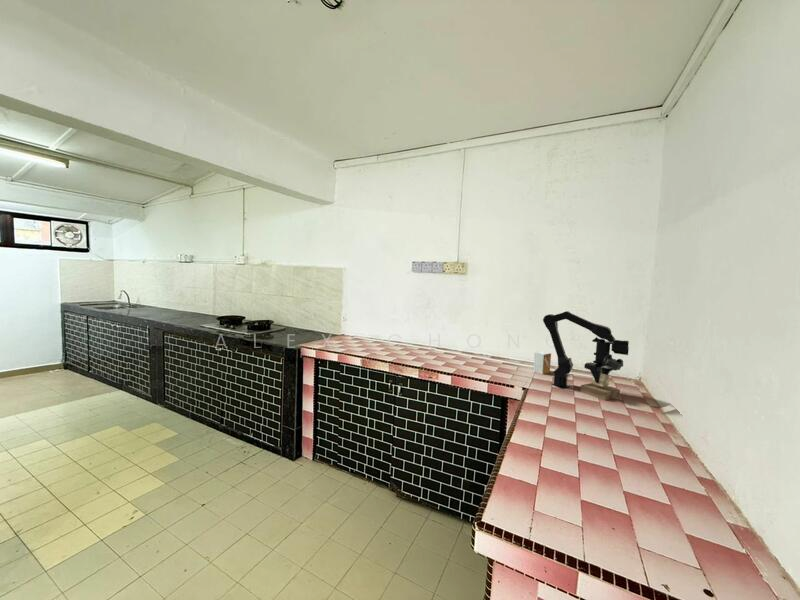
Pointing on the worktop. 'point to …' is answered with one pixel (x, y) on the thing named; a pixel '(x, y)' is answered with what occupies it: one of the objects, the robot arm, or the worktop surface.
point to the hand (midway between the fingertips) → (600, 382)
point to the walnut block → (600, 391)
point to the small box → (542, 362)
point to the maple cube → (602, 380)
